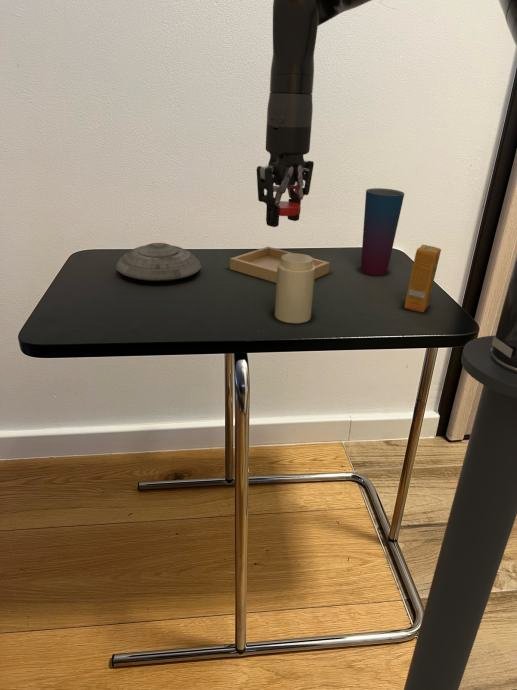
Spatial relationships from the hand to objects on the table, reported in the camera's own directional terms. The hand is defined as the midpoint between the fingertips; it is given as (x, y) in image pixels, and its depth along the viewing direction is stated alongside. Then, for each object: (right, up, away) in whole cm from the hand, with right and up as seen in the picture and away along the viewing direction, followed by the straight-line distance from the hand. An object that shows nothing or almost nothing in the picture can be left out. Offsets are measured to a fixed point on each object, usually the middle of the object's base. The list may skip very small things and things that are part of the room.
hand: (282, 222), depth 98 cm
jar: (+1, -18, -15) cm, 23 cm away
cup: (+18, -8, +6) cm, 20 cm away
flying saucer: (-22, -9, 0) cm, 24 cm away
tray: (0, -8, +4) cm, 9 cm away
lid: (0, +3, -1) cm, 3 cm away
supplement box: (+21, -16, -10) cm, 29 cm away
